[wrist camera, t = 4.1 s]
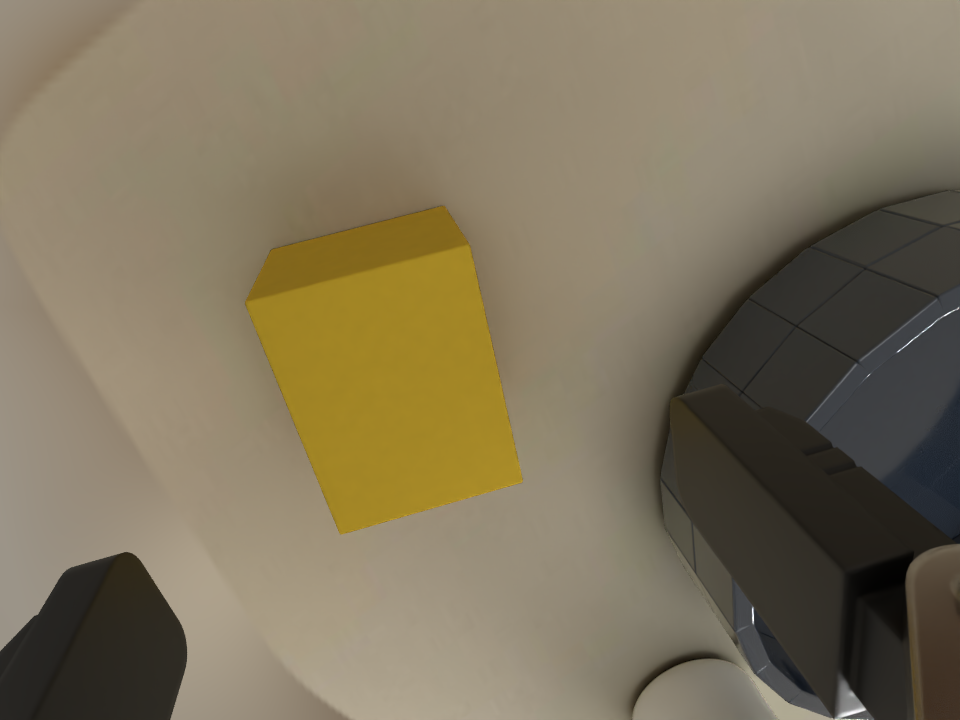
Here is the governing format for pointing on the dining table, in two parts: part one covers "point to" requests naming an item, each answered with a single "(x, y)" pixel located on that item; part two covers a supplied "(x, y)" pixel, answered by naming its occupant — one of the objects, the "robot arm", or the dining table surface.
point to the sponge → (387, 367)
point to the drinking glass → (703, 694)
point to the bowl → (845, 387)
